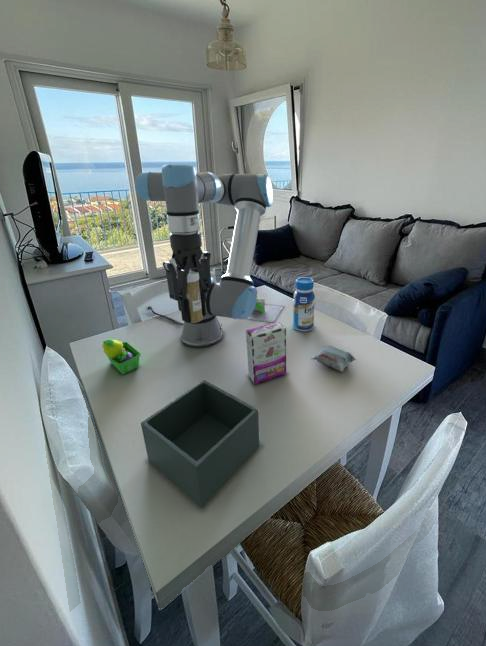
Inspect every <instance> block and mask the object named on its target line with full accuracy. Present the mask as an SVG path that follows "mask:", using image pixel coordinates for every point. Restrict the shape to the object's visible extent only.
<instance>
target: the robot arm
mask: <svg viewBox="0 0 486 646" xmlns="http://www.w3.org/2000/svg"><path fill="white" fill-rule="evenodd" d="M134 185H135V193H136V194H137V196H138V197H139V198H140V199H141V200H143V201H145V202H146V201H147V202H164V203H165V209H166V220H167V228H168V231H169V245H170V249H171V250H172V254H171V258H170V259H169V260H168V261H163V262H162V267H163V268H164V270H165V276H166V283H167V288H168V295H169V298H170V299H171V300H174V301H177V307H178V311H179V312H180V314H181V321H183V322H180V321H177V320H175V319H173V318H171V317H169V316H166V315H163V314H161V313H158V312H155V311H154V309H153V308H152V306H151V305H150V306H148V307H147V309H148V310H149V309H150V311H151V312H152V313H153V314H154V315H156V316H159V317H162V318H165V319H167V320H170V321H171V322H173V323H176V324H178V325H181V326H182V331H181V334H180V335H181V337H180V338H181V342H182V343H183V344H184V345H186V346H188V347H192V348H206V347H209V346H212V345H215V344H216V343H218V342H219V341H221V339H222V338H223V337H224V336H223V335H224V333H223V328H222V327H223V323H221V324H220V321H219V319H218V317H221V318H229V319H233V320H247V319H246V318H248V317H249V316H250V315H251V314H252V312H253V310H254V308H255V305H256V301H257V298H258V289H257V287H256V286H254V281H253V280H252V278H251V275H252V270H253V263H254V256H255V250H256V246H257V245H256V244H257V241H258V240H257V238H258V234H259V233H258V232H259V226H260V221H261V217H262V216H263V215H265V214H266V211H267V208H270V207H272V206H273V203H274V202H273V201H274V194H273V192H274V191H273V185H272V181H271V178H270V177H269V176H268V175H267V174H265V173H258V172H255V173H224V174H219V175H218V174H217V175H216V174H214V173H213V172H211V171H210V172H209V171H196V167H195V166H194V165H193V164H191V163H189V164H188V163H187V164H185V163H184V164H183V163H181V164H180V163H179V164H178V163H175V164H164V165H162V167H161V171H160V172H158V171H157V172H155V171H154V172H153V171H148V172H141V173H139V174H138V175H137V176H136V178H135V181H134ZM203 203H210V204H219V205H225V206H233V207H234V209H235V210H236V212H237V213H236V218H235V223H234V229H233V235H232V240H231V244H230V245H231V246H230V251H229V256H228V262H227V267H226V272H225V274H223V275H222V276H221V277H220V282H215V279H214V277H212V275H211V274H212V273H211V263H210V261H211V256H212V253H211V252H210V251H205V250H202V246H203V240H202V233H201V231H200V230H201V220H200V208H199V204H203ZM189 271H195V272H198V273H199V288H200V296H201V305H202V316H203V319H202V320H201V321H200V322H197V323H190V322H191V317H190V308H189V299H186V288H187V276H188V274H189Z"/></svg>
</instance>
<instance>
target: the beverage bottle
mask: <svg viewBox="0 0 486 646" xmlns="http://www.w3.org/2000/svg"><path fill="white" fill-rule="evenodd" d="M314 283H315V282H314V279H313V278H311V277H303V276H302V277H298V278H296V279H295V289H296V290H295V291H294V293H293V301H292V305H293V308H292V309H293V310H292V312H293V317H292V318H293V320H292V321H293V322H292V326H293V329H294V330H296V331H299V332H309V331H311V330H313V328H314V325H315V323H314V321H315V307H316V306H315V305H316V301H315V298H316V296H315V292H314V291H313V290H314Z"/></svg>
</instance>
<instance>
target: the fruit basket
mask: <svg viewBox="0 0 486 646" xmlns="http://www.w3.org/2000/svg"><path fill="white" fill-rule="evenodd" d="M102 349H103V353H104V354H105V356H107V359H108V361H109V362H110V363H111V365H113V366H114V368H116V369H117V371H118V372H120V374H122V375H125V374H126V373H129V372H131V371H133V370H135V369H137V368H139V364H140V357H141V352H139V351H138V349H136V348H134V346H132V345H131V344H130V343H129V342H127V341H123V342H122V341H120V340H116V339H112V338H107V339H106V340H103V341H102Z"/></svg>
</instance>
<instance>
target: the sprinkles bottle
mask: <svg viewBox="0 0 486 646" xmlns="http://www.w3.org/2000/svg"><path fill="white" fill-rule="evenodd" d="M186 299H189V308H190V317H191V322H190V323H197V322H200V321H201V320H202V319H203V316H202V305H201V296H200V288H199V273H198V272H195V271H191V270H189V274H188V276H187V288H186Z"/></svg>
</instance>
